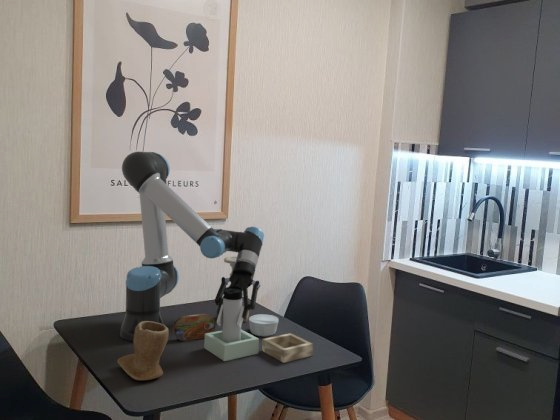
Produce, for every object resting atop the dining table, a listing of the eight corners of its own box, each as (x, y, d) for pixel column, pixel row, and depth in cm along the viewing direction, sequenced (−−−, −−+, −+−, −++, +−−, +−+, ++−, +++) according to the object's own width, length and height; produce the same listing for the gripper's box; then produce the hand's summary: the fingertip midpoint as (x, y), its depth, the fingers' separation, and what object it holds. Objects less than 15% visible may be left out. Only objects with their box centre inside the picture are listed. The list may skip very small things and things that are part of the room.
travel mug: (243, 344, 174) (246, 286, 172) (235, 351, 167) (238, 291, 165) (226, 341, 176) (229, 284, 174) (218, 348, 169) (220, 288, 167)
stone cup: (173, 378, 149) (175, 327, 147) (133, 386, 142) (134, 333, 140) (154, 360, 161) (155, 313, 160) (116, 367, 154) (117, 318, 153)
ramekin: (254, 339, 184) (255, 324, 184) (243, 329, 194) (244, 315, 194) (283, 335, 189) (283, 321, 188) (271, 326, 199) (271, 313, 198)
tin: (174, 342, 177) (174, 318, 176) (171, 339, 180) (172, 315, 179) (215, 337, 184) (216, 314, 183) (212, 334, 187) (213, 311, 186)
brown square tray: (283, 362, 163) (284, 350, 163) (261, 350, 173) (262, 339, 173) (312, 355, 171) (313, 343, 170) (290, 344, 180) (290, 333, 180)
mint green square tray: (224, 361, 162) (224, 345, 162) (204, 348, 173) (204, 333, 172) (258, 353, 170) (258, 338, 170) (237, 341, 181) (237, 327, 180)
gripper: (273, 274, 182) (258, 334, 168) (221, 269, 186) (203, 327, 172) (270, 262, 176) (255, 323, 162) (217, 257, 181) (197, 316, 166)
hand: (228, 325), depth 167 cm, fingers closed on travel mug, 6 cm apart
